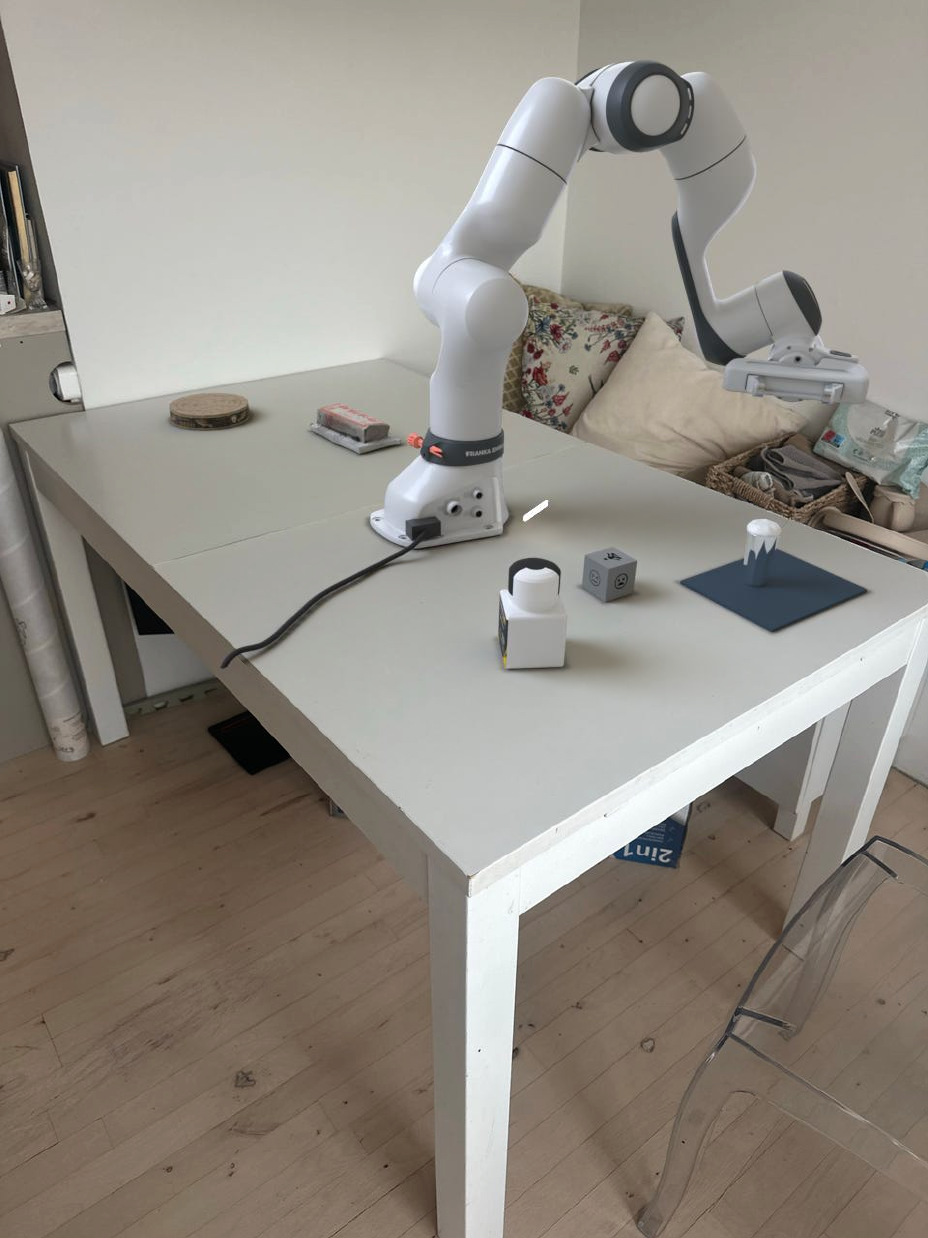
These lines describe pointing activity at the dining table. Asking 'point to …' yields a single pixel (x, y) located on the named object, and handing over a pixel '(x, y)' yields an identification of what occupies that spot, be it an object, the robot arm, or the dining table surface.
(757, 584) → the milkshake
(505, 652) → the medicine bottle
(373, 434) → the packaged product
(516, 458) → the dining table surface
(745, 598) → the mat
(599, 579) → the dice cube
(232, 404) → the round wood slice
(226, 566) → the dining table surface
